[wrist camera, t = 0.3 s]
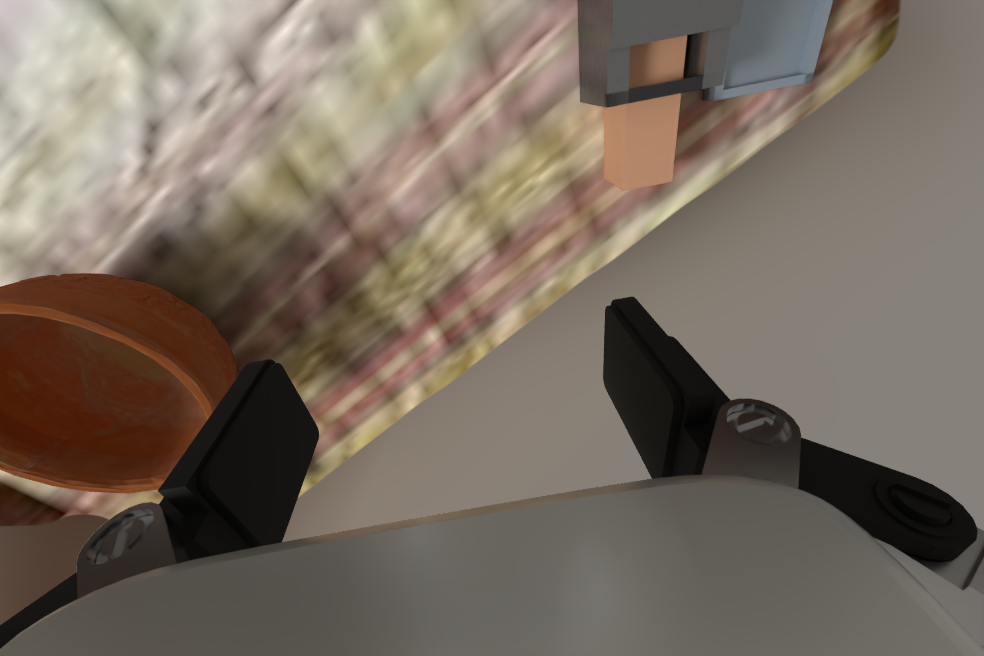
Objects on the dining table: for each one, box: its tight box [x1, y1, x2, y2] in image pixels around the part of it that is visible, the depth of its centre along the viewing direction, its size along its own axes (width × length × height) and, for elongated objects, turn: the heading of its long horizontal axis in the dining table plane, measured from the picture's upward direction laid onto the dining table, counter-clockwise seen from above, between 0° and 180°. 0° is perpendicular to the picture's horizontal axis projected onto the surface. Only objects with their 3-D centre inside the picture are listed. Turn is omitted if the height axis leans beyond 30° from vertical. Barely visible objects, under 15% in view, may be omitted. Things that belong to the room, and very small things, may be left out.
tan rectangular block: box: [604, 35, 687, 191], centre depth 38 cm, size 13×5×6 cm, turn 9°
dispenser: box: [578, 0, 744, 108], centre depth 32 cm, size 12×10×9 cm
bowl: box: [0, 274, 237, 493], centre depth 42 cm, size 25×25×15 cm
